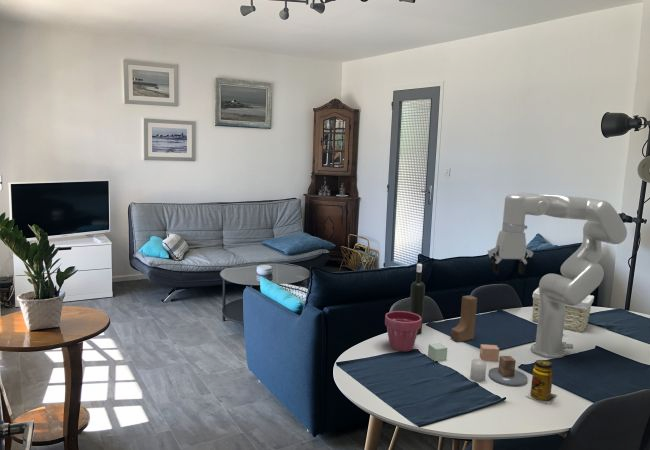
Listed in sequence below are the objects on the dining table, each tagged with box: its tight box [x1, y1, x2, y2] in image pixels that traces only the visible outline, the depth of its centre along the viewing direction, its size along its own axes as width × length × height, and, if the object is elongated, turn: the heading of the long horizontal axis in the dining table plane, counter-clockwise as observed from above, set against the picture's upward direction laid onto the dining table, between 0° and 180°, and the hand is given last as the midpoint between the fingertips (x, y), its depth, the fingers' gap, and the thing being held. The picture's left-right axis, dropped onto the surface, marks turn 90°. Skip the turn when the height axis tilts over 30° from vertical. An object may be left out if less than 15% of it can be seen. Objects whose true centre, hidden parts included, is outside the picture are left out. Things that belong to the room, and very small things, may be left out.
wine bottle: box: [408, 263, 426, 336], centre depth 223 cm, size 6×6×30 cm
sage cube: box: [427, 342, 448, 362], centre depth 199 cm, size 5×5×5 cm
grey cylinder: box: [469, 358, 487, 383], centre depth 183 cm, size 5×5×6 cm
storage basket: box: [532, 287, 595, 333], centre depth 243 cm, size 24×16×15 cm
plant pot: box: [384, 310, 422, 352], centre depth 208 cm, size 14×14×13 cm
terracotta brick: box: [479, 343, 500, 363], centre depth 200 cm, size 6×4×5 cm, turn 87°
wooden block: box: [450, 295, 478, 343], centre depth 219 cm, size 9×4×18 cm, turn 118°
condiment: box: [525, 359, 557, 405], centre depth 172 cm, size 7×8×12 cm
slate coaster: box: [487, 366, 528, 387], centre depth 185 cm, size 13×13×1 cm
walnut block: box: [498, 355, 517, 377], centre depth 185 cm, size 4×4×6 cm
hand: (508, 273), depth 197 cm, fingers open, 9 cm apart
